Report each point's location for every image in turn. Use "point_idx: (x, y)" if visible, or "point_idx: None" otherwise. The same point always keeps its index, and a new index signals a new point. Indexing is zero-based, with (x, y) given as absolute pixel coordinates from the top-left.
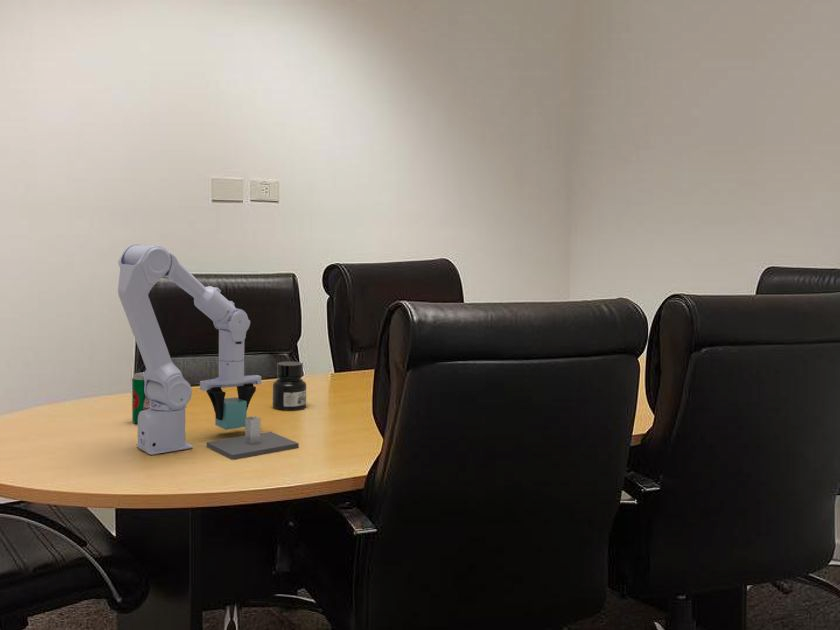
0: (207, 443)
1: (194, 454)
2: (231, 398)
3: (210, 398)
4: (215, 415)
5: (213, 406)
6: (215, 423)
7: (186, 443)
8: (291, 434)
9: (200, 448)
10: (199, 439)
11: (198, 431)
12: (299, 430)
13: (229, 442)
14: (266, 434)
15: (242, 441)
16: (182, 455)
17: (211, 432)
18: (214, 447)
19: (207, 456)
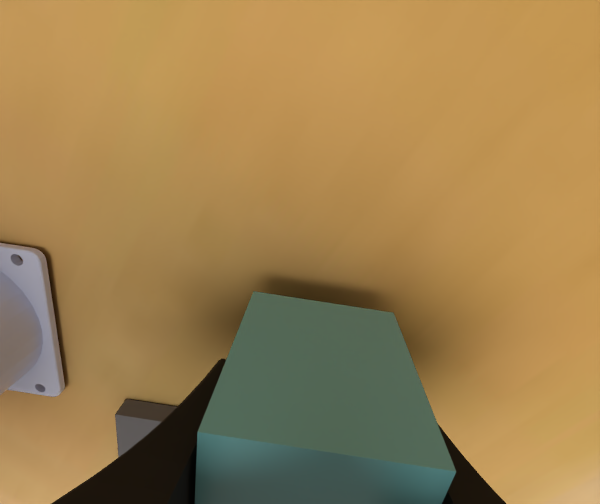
0: (118, 418)
1: (49, 439)
2: (371, 484)
3: (93, 485)
4: (239, 327)
5: (168, 419)
6: (251, 297)
7: (46, 353)
8: (509, 477)
9: (96, 400)
10: (149, 295)
11: (220, 154)
12: (592, 460)
13: None
14: None
15: None
16: (6, 423)
17: (266, 225)
18: None
19: (81, 477)
